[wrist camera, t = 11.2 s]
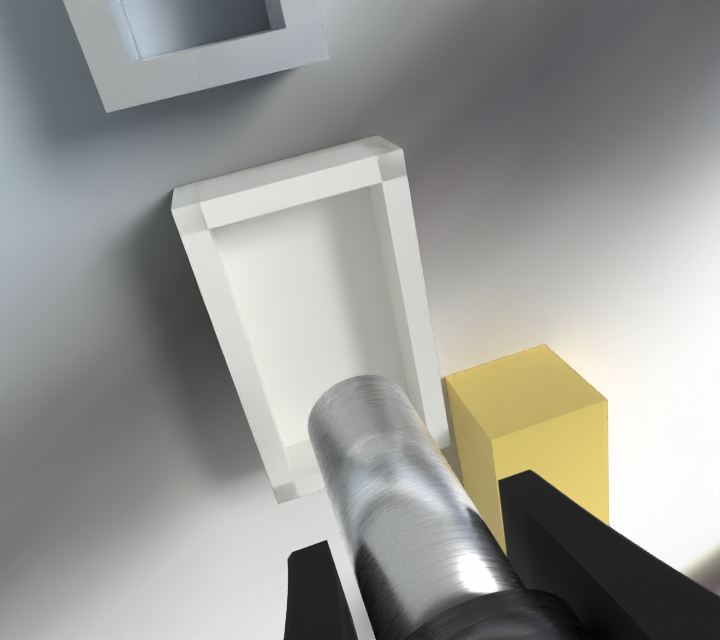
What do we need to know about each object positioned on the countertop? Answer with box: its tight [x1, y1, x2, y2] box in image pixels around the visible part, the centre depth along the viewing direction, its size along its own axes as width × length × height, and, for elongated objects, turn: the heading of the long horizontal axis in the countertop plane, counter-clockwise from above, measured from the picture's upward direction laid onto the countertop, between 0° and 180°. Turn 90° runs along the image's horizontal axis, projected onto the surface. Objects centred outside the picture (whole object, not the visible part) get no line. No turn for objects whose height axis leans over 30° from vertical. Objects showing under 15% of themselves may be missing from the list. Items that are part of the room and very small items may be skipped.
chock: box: [445, 344, 609, 557], centre depth 22 cm, size 4×6×4 cm, turn 12°
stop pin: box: [308, 375, 593, 640], centre depth 11 cm, size 3×3×7 cm
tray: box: [171, 135, 451, 504], centre depth 18 cm, size 6×10×2 cm, turn 12°
